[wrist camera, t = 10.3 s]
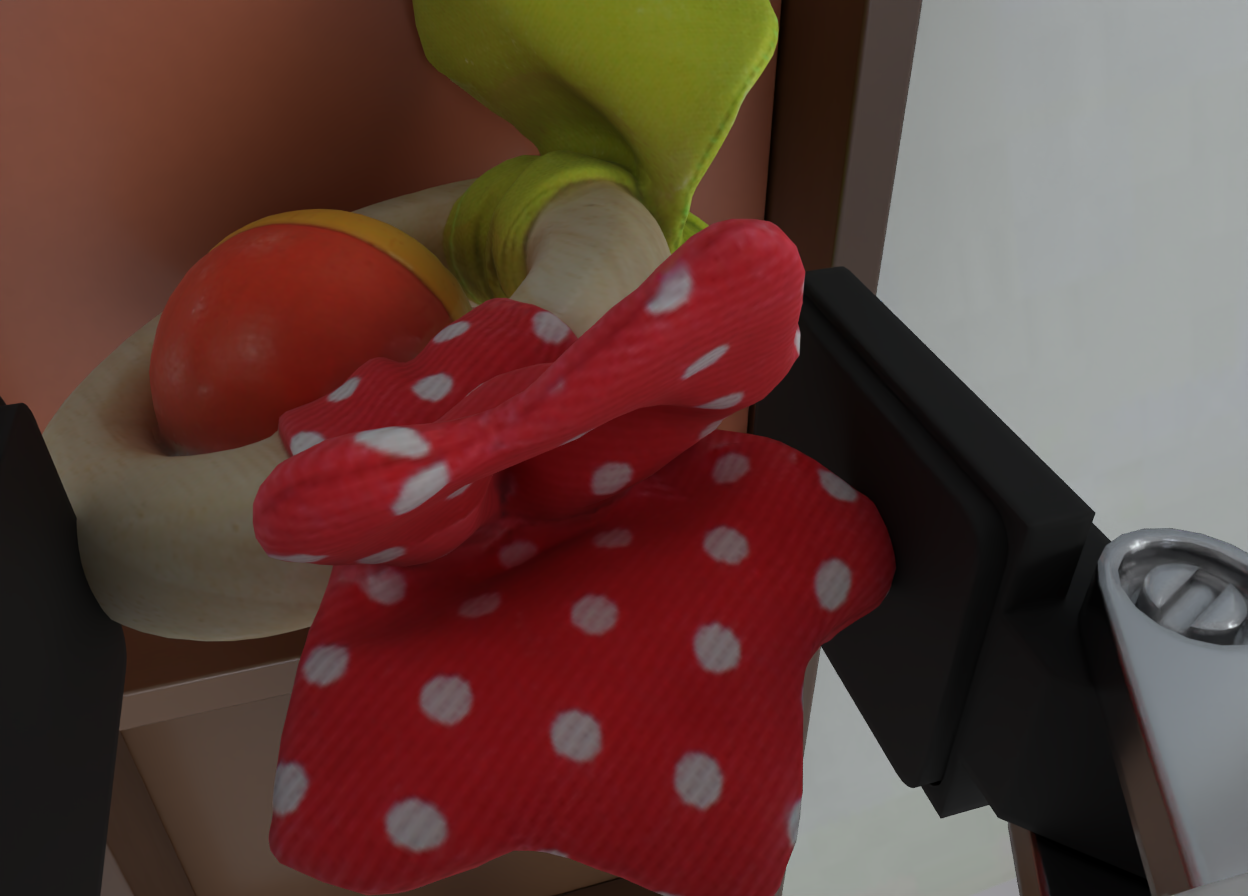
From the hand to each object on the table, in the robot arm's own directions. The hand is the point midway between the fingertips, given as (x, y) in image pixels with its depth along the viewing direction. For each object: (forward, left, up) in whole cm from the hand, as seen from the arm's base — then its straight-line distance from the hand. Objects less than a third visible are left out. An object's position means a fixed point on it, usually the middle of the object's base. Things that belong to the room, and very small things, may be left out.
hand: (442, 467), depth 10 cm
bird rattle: (0, +1, -6) cm, 6 cm away
